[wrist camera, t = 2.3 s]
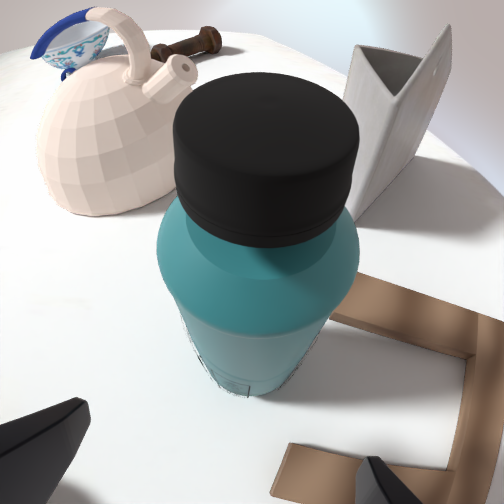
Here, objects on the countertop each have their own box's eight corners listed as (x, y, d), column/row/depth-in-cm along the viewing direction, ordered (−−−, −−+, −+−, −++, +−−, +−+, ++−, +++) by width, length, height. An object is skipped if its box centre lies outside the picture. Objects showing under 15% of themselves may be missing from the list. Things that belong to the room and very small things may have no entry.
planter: (363, 125, 39) (399, -9, 22) (414, 157, 36) (468, 23, 20) (285, 182, 32) (312, -10, 16) (349, 228, 29) (424, 31, 13)
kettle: (158, 242, 28) (102, 46, 13) (18, 197, 31) (-47, 75, 16) (236, 116, 39) (237, -21, 23) (107, 100, 41) (83, -7, 26)
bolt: (140, 84, 47) (212, 55, 52) (148, 79, 43) (226, 49, 48) (127, 55, 44) (201, 29, 49) (135, 48, 40) (215, 21, 45)
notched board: (501, 330, 24) (510, 324, 23) (470, 514, 15) (480, 516, 13) (339, 276, 27) (344, 267, 25) (269, 492, 17) (271, 496, 16)
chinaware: (87, 48, 55) (80, 20, 49) (130, 51, 52) (125, 18, 45) (35, 81, 48) (25, 51, 41) (72, 87, 45) (62, 50, 38)
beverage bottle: (311, 371, 22) (481, 158, 6) (232, 418, 20) (189, 327, 3) (263, 302, 25) (301, 34, 8) (187, 343, 23) (82, 90, 6)
